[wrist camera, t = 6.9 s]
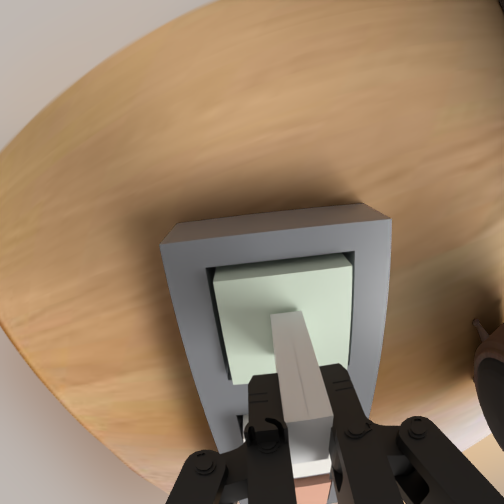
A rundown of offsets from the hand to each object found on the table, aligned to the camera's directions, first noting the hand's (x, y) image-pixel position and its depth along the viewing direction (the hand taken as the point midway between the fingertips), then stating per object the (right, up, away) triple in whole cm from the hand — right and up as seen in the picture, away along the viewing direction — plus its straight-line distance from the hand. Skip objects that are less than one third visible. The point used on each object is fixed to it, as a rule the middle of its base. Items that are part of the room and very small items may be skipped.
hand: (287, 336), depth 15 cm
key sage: (0, +1, +3) cm, 3 cm away
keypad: (+1, -8, +8) cm, 12 cm away
